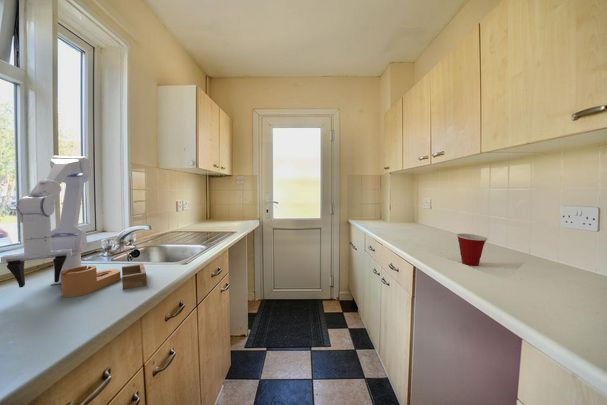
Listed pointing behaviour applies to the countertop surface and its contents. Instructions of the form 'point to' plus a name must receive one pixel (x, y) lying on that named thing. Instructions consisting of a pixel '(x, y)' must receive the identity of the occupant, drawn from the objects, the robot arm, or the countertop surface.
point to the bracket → (86, 280)
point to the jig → (133, 276)
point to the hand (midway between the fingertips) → (40, 283)
